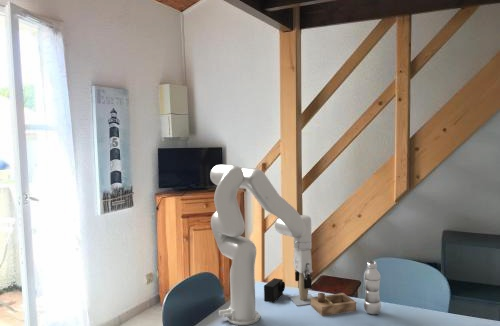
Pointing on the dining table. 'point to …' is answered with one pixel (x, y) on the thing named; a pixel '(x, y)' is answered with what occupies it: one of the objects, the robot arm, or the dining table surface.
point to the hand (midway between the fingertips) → (303, 284)
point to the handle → (302, 287)
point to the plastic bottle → (372, 289)
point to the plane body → (333, 304)
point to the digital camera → (273, 290)
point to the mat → (300, 302)
